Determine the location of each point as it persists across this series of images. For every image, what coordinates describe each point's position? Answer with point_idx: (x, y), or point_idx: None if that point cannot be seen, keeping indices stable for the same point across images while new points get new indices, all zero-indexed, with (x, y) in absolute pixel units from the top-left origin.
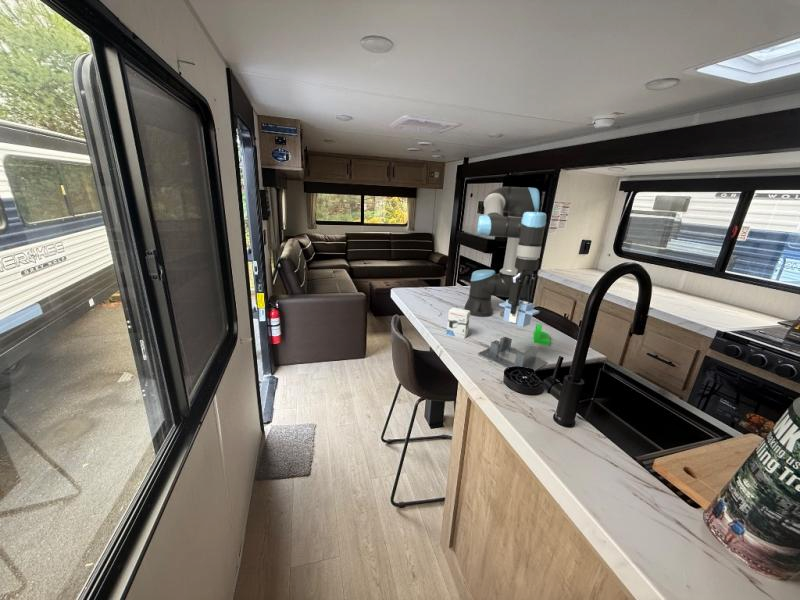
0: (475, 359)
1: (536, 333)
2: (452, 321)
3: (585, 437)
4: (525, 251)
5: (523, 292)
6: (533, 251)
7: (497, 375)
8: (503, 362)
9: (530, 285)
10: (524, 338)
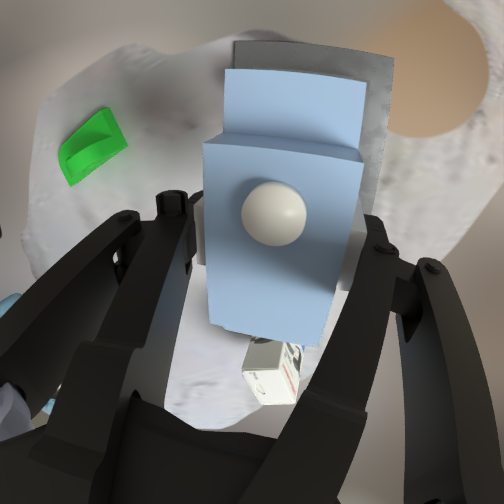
0: (403, 222)
1: (105, 153)
2: (297, 367)
3: None
4: None
5: (174, 315)
6: None
7: (451, 132)
8: (369, 144)
9: (54, 327)
10: (125, 181)
